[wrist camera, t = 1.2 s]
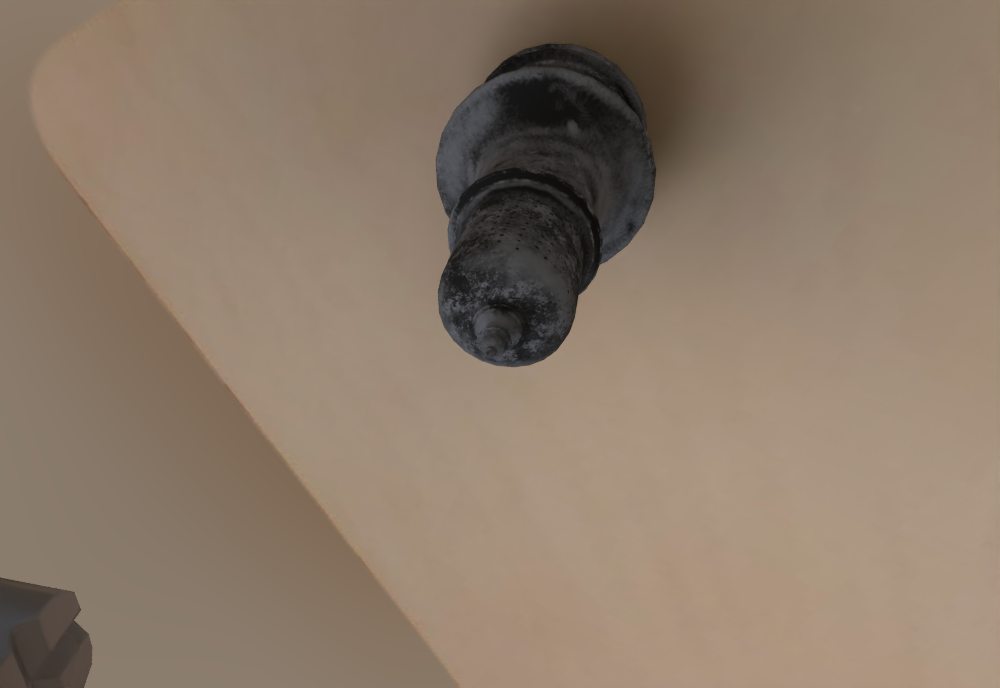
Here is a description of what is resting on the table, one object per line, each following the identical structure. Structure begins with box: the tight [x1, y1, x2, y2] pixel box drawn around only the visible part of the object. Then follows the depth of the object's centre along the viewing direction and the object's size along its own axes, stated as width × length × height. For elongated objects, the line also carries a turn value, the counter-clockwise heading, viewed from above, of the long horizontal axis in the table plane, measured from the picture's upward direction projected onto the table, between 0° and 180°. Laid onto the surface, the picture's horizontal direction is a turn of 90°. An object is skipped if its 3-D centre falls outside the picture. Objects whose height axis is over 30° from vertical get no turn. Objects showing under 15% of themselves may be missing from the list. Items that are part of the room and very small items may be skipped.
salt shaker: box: [436, 44, 656, 367], centre depth 21 cm, size 6×6×12 cm
